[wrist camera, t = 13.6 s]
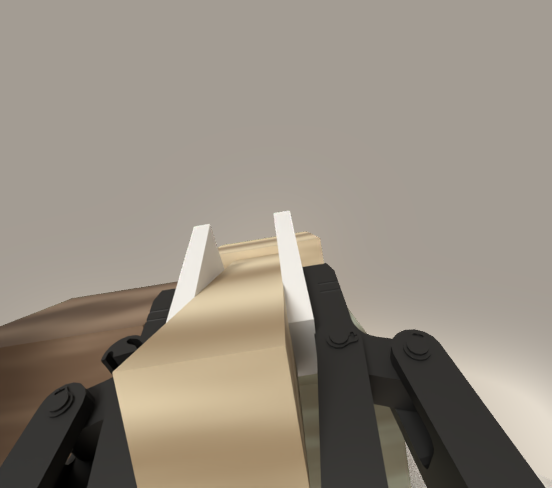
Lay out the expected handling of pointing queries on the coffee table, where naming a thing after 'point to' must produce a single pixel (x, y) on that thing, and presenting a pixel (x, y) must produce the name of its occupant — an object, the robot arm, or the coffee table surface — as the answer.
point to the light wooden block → (221, 382)
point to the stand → (91, 371)
